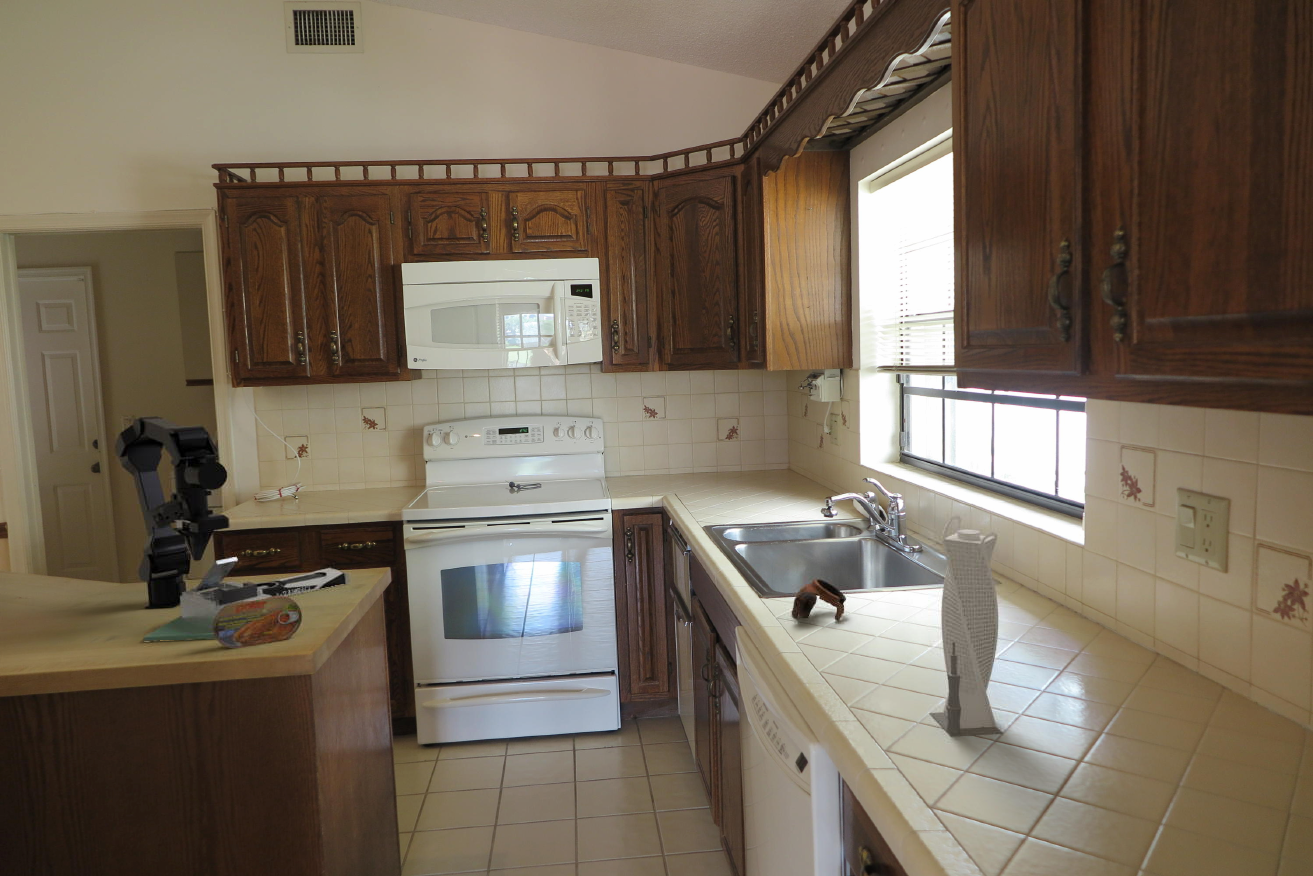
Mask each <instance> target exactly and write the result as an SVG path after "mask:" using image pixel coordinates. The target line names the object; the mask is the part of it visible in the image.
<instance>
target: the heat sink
mask: <svg viewBox="0 0 1313 876" xmlns="http://www.w3.org/2000/svg"><path fill="white" fill-rule="evenodd" d="M182 594H183V595H182V596H180V602H181V604H180V612H181V614H180V615H181V616H182V620H184V621H187V622H189V623H192V624H195V625H198V626H200V627H203V628H206V629H209V630H212V631H213V622H214V619H215V617H216V616H217V614H218V612H219V611H220V610H221V609H222V608H223V607H225V606H227V605H228V604H231V603H234V602H240V601H247V600H253V599H259V598H265V597H266V595H265V594H263V593H262V589H258V588H257V584H256V583H253V582H249V581H247V582H243V583H240V582H239V583H238V582H235V581H232V580H231V581H226V582H221V583H220V584H219V586H218V587H216V588H212V589H207V590H203V591H199V592H197V589H196V587H194V588H191V589H190V590H186V591H185V592H182Z"/></svg>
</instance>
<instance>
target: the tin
mask: <svg viewBox="0 0 1313 876" xmlns="http://www.w3.org/2000/svg"><path fill="white" fill-rule="evenodd" d="M302 619H303V614H302V610H301V607H300V606H299V604H298V603H297V602H296V601H295V600H294V599H292V598H291V597H290V596H288V597H286V596H272V597H265V598H259V599H253V600H247V601H240V602H234V603H231V604H228V605H227V606H225V607H223V608H222V609H221V610H220V611H219V612H218V614H217V616H216V617H215V619H214V622H213V633H214V636H215V638H216V639H215V640H216V641H217V642H218V643H219V644H221V645H222V646H223V647H226V648H230V649H239V648H246V646H247V647H251V646H257V645H262V644H268V643H269V644H270V643H275V642H279V641H284V640H287V639H289V638H290V637H292V636H293V635H294V634H295V633H296V632H297V631H298V630H299V628H300V626H301V624H302Z"/></svg>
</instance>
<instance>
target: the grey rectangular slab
mask: <svg viewBox="0 0 1313 876" xmlns="http://www.w3.org/2000/svg"><path fill="white" fill-rule="evenodd" d="M238 561H239V560H238V558H237V556H235V557H229V558H225V559H224V558H223V559H220V560H215V561H214V563H213V564H212V566H211V567H210V568H209V570H208V571H207V573H206V574H205V575H204V577H203V578H202V580H201V581H200V582H199V584H198V585H197V586H196V587H195V589H197V592H199V591H204V590H208V589H212V588H217V587H218V586H219V584H220V583H221V582H222V581H223V580H224V579H225V578H226V577H227V575H228V574H229V573H230V572H231V570H232V568H234V566H235V564H236V563H237V562H238ZM222 583H223V582H222Z"/></svg>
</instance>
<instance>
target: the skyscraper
mask: <svg viewBox="0 0 1313 876" xmlns="http://www.w3.org/2000/svg"><path fill="white" fill-rule="evenodd" d="M954 520H956V521H957V522H956V528H955V529H956V530H955V533H954V534H952V535H949V536H947V533H948V530H949V527H950V525H951V524H952V523H953V521H954ZM961 522H962V518H961V516H960V515H954V516H953V517H951V518H950V519H949V520H948V521H947V522H946V524H945V525H944V528H943V531H942V535H941V543H942V548H943V552H944V556H945V560H946V563H947V565H946V570H945V575H944V581H943V587H942V595H941V596H942V597H941V614H940V616H941V618H940V619H941V621H940V622H941V624H940V625H941V639H942V640H941V641H942V648H943V655H944V656H943V657H944V664H945V669H946V670H945V671H946V676H947V681H948V682H947V683H948V684H947V685H948V693H947V696H946V700H945V704H944V707H943V711H941V712H930V713H929V715H930V716H931V717H932V719H933V720H934V721H936V722H937V724H938V725H939V726H940V727H941V728H942V729H943V730H944V731H945V732H946V733H947V735H948V736H949V737H967V736H983V735H987V736H988V735H1000V734H1002V735H1003V733H1004V732H1003V731H1002V730H1000V729H999V727H998V726H997V723H996V720H995V716H994V713H993V710H992V706H991V704H990V700H989V697H988V693H987V691H988V686H989V684H990V680H991V676H992V672H993V668H994V663H995V658H996V652H997V645H998V639H999V608H998V607H999V605H998V596H997V590H996V585H995V581H994V576H993V572H992V568H991V564H990V563H991V559H992V555H993V552H994V549H995V545H996V543H997V539H998V534H997V532H995V531H992V532H990V533H988V534H986V535H981V532H980V530H976V529H966V528H965V529H964V528H963V529H960V528H961ZM946 536H947V537H946Z"/></svg>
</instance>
